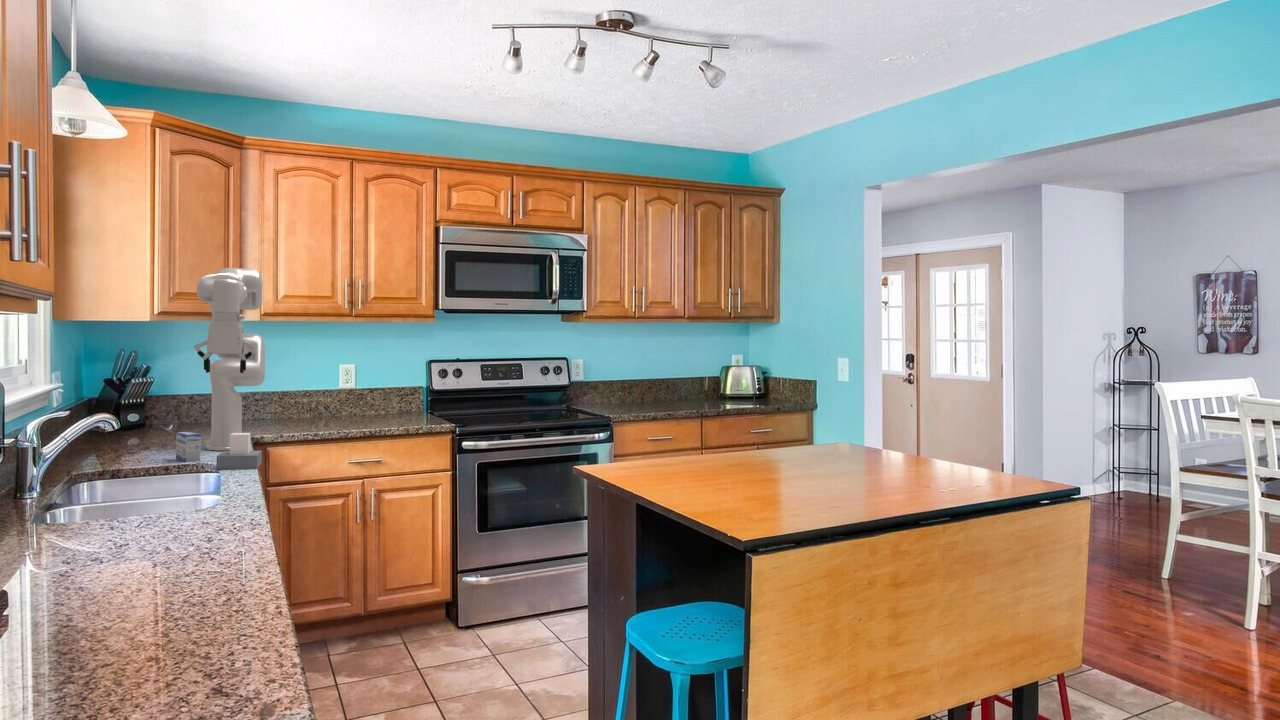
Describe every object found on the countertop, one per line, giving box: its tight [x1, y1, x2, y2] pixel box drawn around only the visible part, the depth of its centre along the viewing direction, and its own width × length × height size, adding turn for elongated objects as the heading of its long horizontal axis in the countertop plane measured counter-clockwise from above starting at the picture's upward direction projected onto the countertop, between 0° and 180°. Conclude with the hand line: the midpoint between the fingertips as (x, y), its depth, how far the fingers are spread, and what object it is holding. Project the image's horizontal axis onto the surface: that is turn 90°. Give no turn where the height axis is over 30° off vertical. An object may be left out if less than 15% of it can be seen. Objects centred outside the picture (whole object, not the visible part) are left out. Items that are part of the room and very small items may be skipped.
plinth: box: [215, 450, 263, 471], centre depth 241 cm, size 11×11×4 cm
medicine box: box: [175, 431, 202, 463], centre depth 251 cm, size 8×4×9 cm, turn 52°
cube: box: [229, 432, 251, 455], centre depth 241 cm, size 5×5×6 cm
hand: (224, 372), depth 248 cm, fingers open, 9 cm apart
